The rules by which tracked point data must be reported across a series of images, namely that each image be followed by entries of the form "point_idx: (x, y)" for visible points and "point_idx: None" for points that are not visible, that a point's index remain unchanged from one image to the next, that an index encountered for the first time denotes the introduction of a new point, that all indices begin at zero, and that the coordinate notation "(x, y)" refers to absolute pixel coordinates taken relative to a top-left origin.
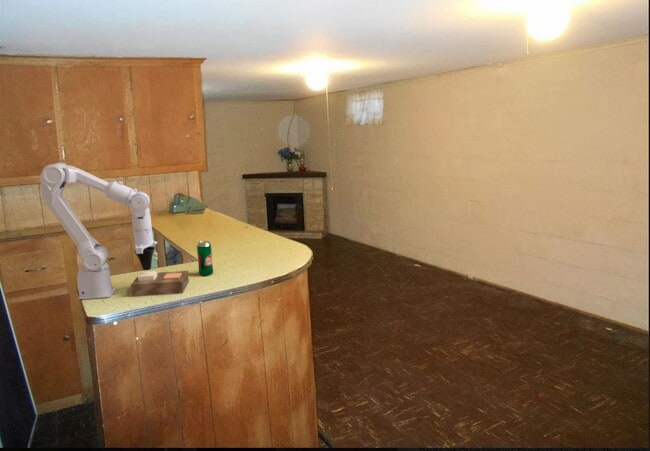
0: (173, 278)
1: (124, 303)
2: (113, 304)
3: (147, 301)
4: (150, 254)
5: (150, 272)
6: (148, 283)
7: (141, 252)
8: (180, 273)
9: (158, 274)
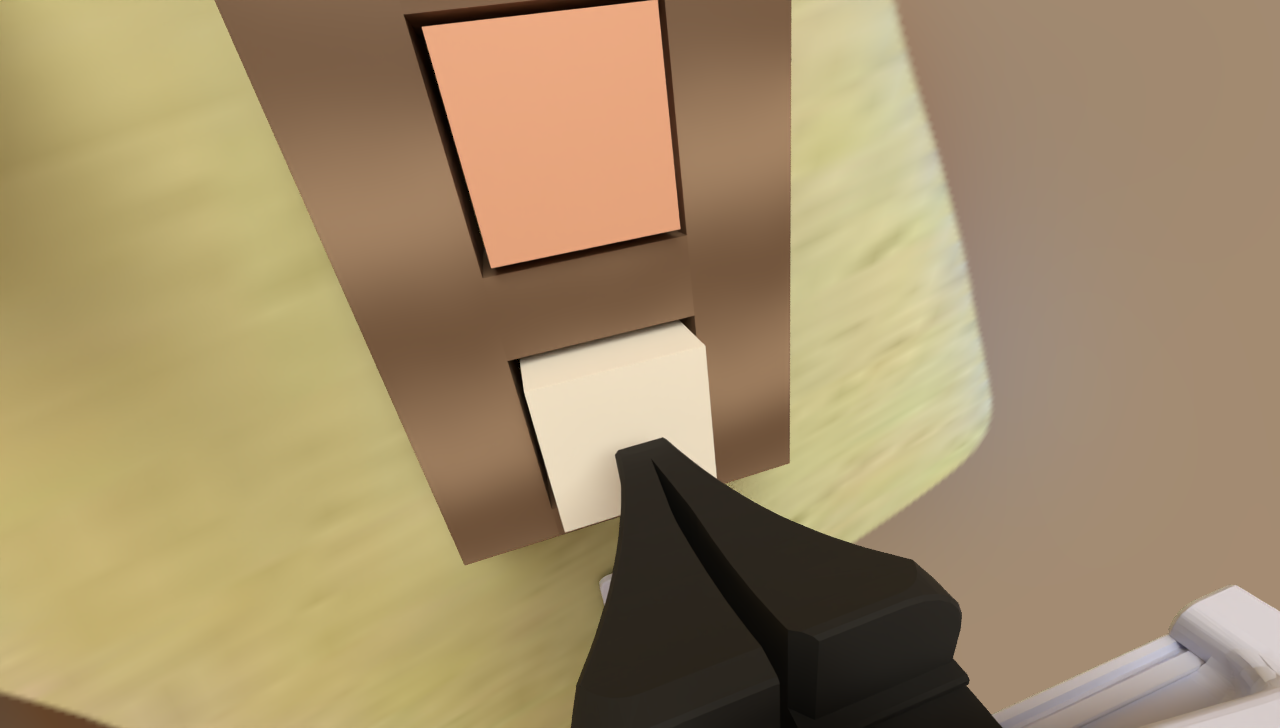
0: (662, 91)
1: (859, 386)
2: (859, 439)
3: (861, 248)
4: (867, 549)
5: (580, 438)
6: (789, 328)
7: (1259, 611)
8: (454, 37)
9: (478, 373)
